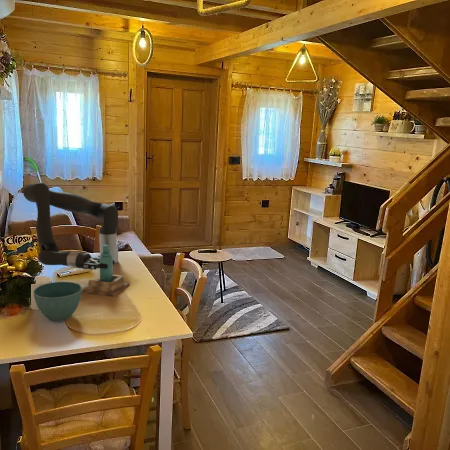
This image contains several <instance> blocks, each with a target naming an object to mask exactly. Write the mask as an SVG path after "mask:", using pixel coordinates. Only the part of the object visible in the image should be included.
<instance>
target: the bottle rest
mask: <svg viewBox="0 0 450 450" xmlns="http://www.w3.org/2000/svg"><path fill="white" fill-rule="evenodd" d="M124 276H125V275H120V274H119V275H118V274H113V281H112V282H111V283H110V282H103V281H100V278H98V279H97V280H96V279H95V280H94V279H89V280H88V286H87V287H85V288H82V293H86V294H93V295H100V296H106V295H107V297H112V298H113V297H116V296H117V295H119V294H120V293H121V292H122V291H123V290H125V289H126V288H128V287H129V286H130V282H126V281H125V279H124V278H125V277H124Z"/></svg>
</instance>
